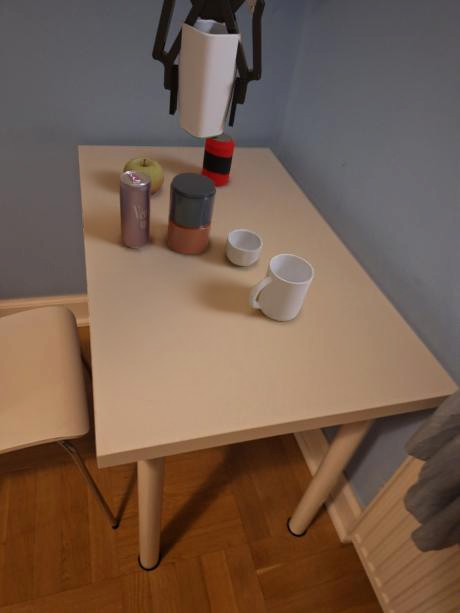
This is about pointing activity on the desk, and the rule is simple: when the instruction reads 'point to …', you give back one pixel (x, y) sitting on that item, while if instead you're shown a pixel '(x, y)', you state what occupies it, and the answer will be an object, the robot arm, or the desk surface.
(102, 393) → the desk surface
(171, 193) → the tumbler stack
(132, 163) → the apple
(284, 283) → the mug
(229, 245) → the teacup
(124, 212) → the beverage can
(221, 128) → the cup
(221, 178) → the soda can
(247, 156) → the desk surface
